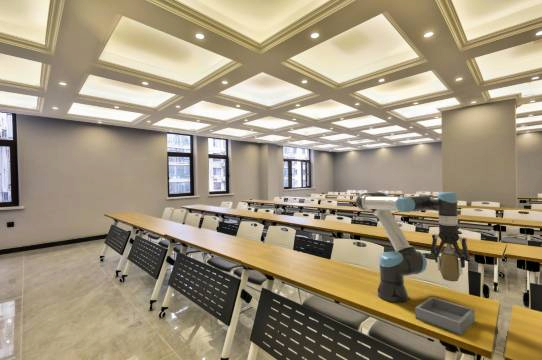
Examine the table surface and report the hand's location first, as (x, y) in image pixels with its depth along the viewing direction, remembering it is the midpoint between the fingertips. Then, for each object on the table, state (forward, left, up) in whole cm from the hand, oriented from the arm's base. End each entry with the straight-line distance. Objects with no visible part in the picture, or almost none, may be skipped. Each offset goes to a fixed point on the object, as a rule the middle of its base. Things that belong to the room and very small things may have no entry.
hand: (449, 271), depth 123 cm
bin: (+1, -10, -19) cm, 22 cm away
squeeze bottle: (0, 0, -4) cm, 4 cm away
